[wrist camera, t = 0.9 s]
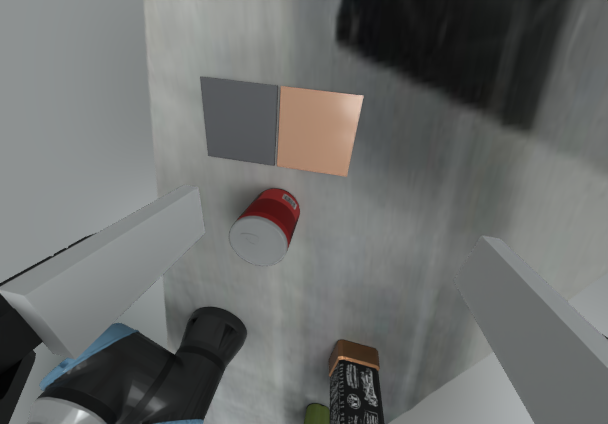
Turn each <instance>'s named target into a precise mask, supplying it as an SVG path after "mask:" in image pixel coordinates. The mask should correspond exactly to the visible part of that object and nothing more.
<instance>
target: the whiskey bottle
mask: <svg viewBox="0 0 608 424" xmlns="http://www.w3.org/2000/svg"><path fill="white" fill-rule="evenodd" d="M379 369H380V366H379V357H378V351H377V350H376V349H374V348H370V347H367V346H363V345H360V344H356V343H352V342H349V341H345V340H340V341H338V342H337V344H336V346H335V348H334V350H333V352H332V354H331V356H330V358H329V376H330V424H384V416H383V408H382V400H381V391H380V383H379V374H378V371H379Z"/></svg>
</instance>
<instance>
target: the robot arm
mask: <svg viewBox="0 0 608 424" xmlns="http://www.w3.org/2000/svg"><path fill="white" fill-rule="evenodd" d="M204 234H205V227H204V220H203V214H202V207H201V201H200V194H199V188H198V187H195V186H189V185H183V186H181V187H179V188H177V189H176V190H174V191H172V192H170V193H168V194H166V195H165V196H163V197H161V198H159V199H157V200H156V201H154V202H152V203H150V204H148V205H147V206H145V207H143V208H141V209H139V210H138V211H136V212H134V213H132V214H131V215H129V216H127V217H125V218H123V219H121V220H120V221H118V222H116V223H114V224H112V225H111V226H109V227H107V228H105V229H103V230H101V231H100V232H98V233H95V234H92V235H89V236H87V237H84V238H82V239H81V240H79V241H77V242H75V243H74V244H71V245H70V246H69V247H68V248H64V249H62V250H60V251H59V252H57V253H55V254H54V256H49V257H48V258H46V259H44V260H42V261H40V262H39V263H37V264H35V265H33V266H31V267H29V268H27V269H26V270H24V271H22V272H20V273H18V274H16V275H15V276H13V277H11V278H9V279H7V280H5V281H4V282H2V283H0V424H9V421H10V419H11V417H12V414H13V412H14V409H15V407H16V404H17V402H18V400H19V397H20V395H21V392H22V390H23V388H24V385H25V383H26V381H27V378H28V376H29V374H30V371H31V369H32V366H33V364H34V361H35V356H36V353H35V352H34V351H33V349H34V348H36V347H37V346H38V345H39V344H41V343H42V342H43V343H44V344H45V345H46V346H47V347H48V348H49V350H50V351H51V352H52V353H53V354H57V355H60V356H64V357H67V358H66V359H65V360H64V361H63V362H61V363H60V364H59V365H58V366H57V367H55V368H54V369H53V370H52V371H51V372H50V373H49V374H48V375H47V376H46V377H45V378H44V379H43V380H42V381H41V383H40V385H39V386H40V387H41V390H42V391H44V392H43V393H42V394H41V395H40V396H39V397H38V398H37V399H36V400H35V401H34V402H33V403H32V404H31V408H30V414H29V420H28V423H27V424H203V422H204V418H205V416H206V413H207V411H208V408H209V406H210V404H211V401H212V399H213V397H214V394H215V392H216V390H217V387H218V385H219V382H220V380H221V378H222V375H223V373H224V371H225V368H226V367H227V365H228V364H229V363H230V361H231V360H232V359H233V358H234V356H235V355H236V354H237V353H238V351H239V350H240V349H241V347H242V346H243V344H244V341H245V339H246V336H247V331H246V328H245V326H244V324H243V323H242V322H241V321H240V320H239V319H238V318H237V317H236V316H234V315H233V314H231V313H229V312H227V311H225V310H222V309H219V308H214V307H204V308H200V309H198V310H196V311H195V312H194V313H193V315H192V316H191V318H190V319H189V321H188V323H187V327H186V330H185V333H184V336H183V339H182V342H181V345H180V347H179V349H178V350H177V352H176V354H175V355H174V354H173V353H171V352H170V351H168V350H166V349H165V348H163V347H162V346H160V345H158V344H157V343H155V342H154V341H152V340H150V339H149V338H147V337H145V336H144V335H143V334H141V333H140V332H139V331H138V330H134V329H132V328H130V327H128V326H126V325H124V324H122V323H115V324H113V323H114V322H115V321H116V320H117V319H118V318H119V317H120V316H121V315H122V314H123V313H124V312H125V311H126V310H127V309H128V308H129V307H130V306H131V305H132V304H133V303H134V302H135V301H136V300H137V299H138V298H139V297H140V296H141V295H142V294H143V293H144V292H145V291H146V290H147V289H148V288H150V287H151V286H152V285H153V284H154V283H155V282H156V281H157V280H158V279H159V278H160V277H161V276H162V275H163V274H164V273H165V272H166V271H167V270H168V269H169V268H170V267H171V266H172V265H173V264H174V263H175V262H176V261H177V260H178V259H179V258H180V257H181V256H182V255H183V254H184V253H185V252H186V251H187V250H188V249H189V248H190V247H191V246H192V245H194V244H195V243H196V242H197V241H198V240H199V239H200V238H201V237H202V236H203V235H204ZM453 281H454V283H455V285H456V286H457V288H458V290H459V292H460V293H461V295H462V297H463V299H464V300H465V302H466V304H467V306H468V308H469V309H470V311H471V313H472V315H473V316H474V318H475V320H476V322H477V323H478V325H479V327H480V329H481V330H482V332H483V334H484V336H485V337H486V339H487V341H488V343H489V344H490V346H491V348H492V350H493V351H494V353H495V355H496V357H497V358H498V360H499V362H500V363H501V365H502V367H503V369H504V371H505V372H506V374H507V376H508V378H509V379H510V381H511V383H512V385H513V386H514V388H515V390H516V392H517V393H518V395H519V397H520V399H521V400H522V402H523V404H524V406H525V407H526V409H527V411H528V413H529V414H530V416H531V418H532V420H533V421H534V423H535V424H608V338H607V337H606V336H604V335H603V334H601V333H600V332H599V331H598V330H597V329H596V328H595V327H594V326H593V325H592V324H590V323H589V322H588V321H587V320H586V319H585V318H584V317H583V316H582V315H581V314H580V313H579V312H578V311H577V310H576V309H575V308H574V307H572V306H571V305H570V304H569V303H568V302H567V301H566V300H565V299H564V298H563V297H562V296H561V295H560V294H559V293H558V292H557V291H555V290H554V289H553V288H552V287H551V286H550V285H549V284H548V283H547V282H546V281H545V280H544V279H543V278H542V277H541V276H539V275H538V274H537V273H536V272H535V271H534V270H533V269H532V268H531V267H530V266H529V265H528V264H527V263H526V262H525V261H524V260H522V259H521V258H520V257H519V256H518V255H517V254H516V253H515V252H514V251H513V250H512V249H511V248H510V247H509V246H508V245H507V244H505V243H504V242H503V241H502V240H501V239H499V238H493V237H487V236H481V237H480V239H479V240H478V242H477V243H476V245H475V247H474V248H473V250H472V251H471V253H470V255H469V256H468V258H467V259H466V261H465V263H464V264H463V266H462V268H461V269H460V271H459V272H458V274H457V276H456V277H455V279H454V280H453Z"/></svg>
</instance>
